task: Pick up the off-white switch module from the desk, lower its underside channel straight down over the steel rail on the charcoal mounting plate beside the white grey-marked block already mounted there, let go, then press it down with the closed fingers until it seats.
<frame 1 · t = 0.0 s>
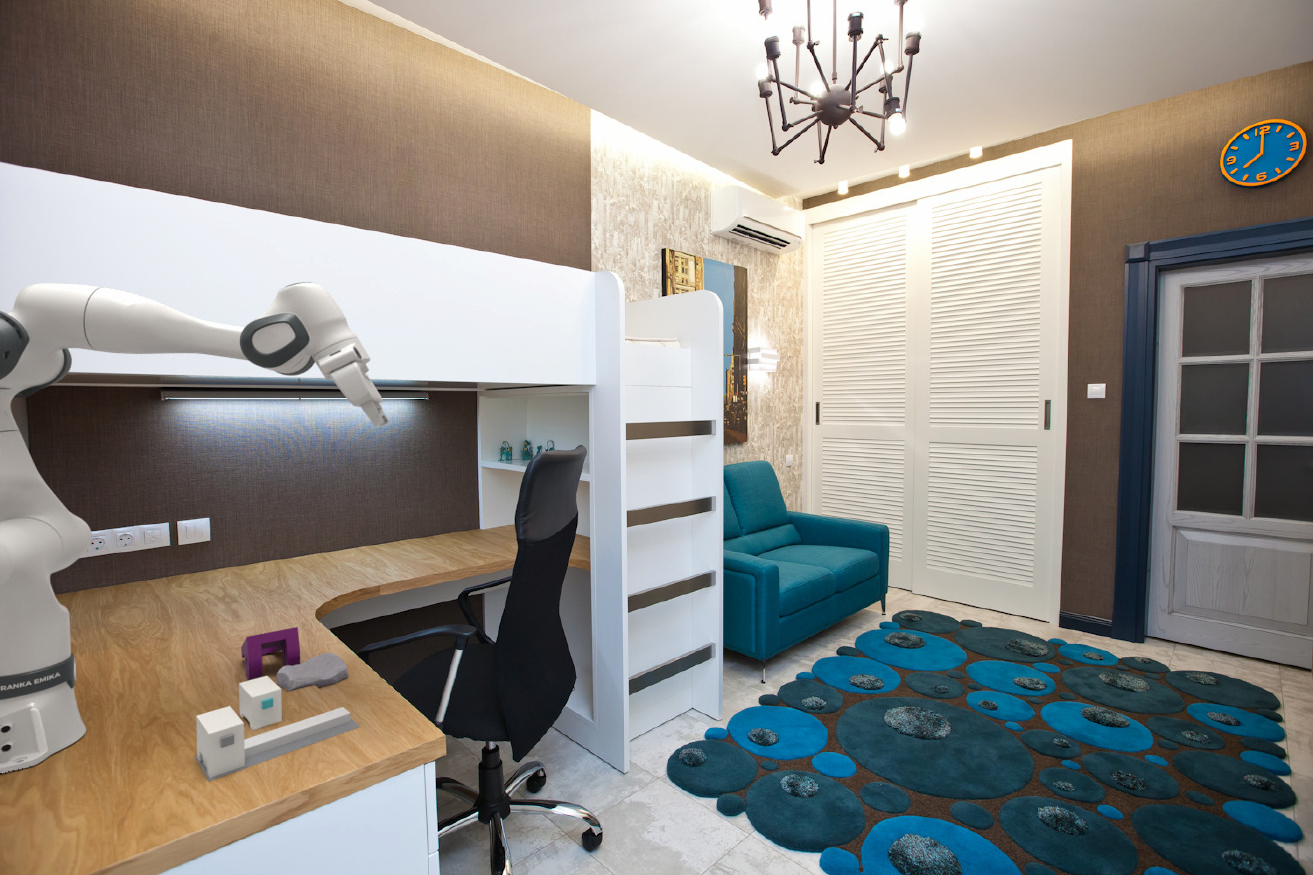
hand: (382, 424, 119), 54 cm above the table, tool tilted 30°, fingers open, 8 cm apart
rail plate: (281, 746, 103), on the table
stone block: (314, 683, 128), on the table
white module: (260, 722, 111), on the table
white grey-marked block: (220, 761, 96), resting on rail plate
mounting bracket: (269, 666, 137), on the table
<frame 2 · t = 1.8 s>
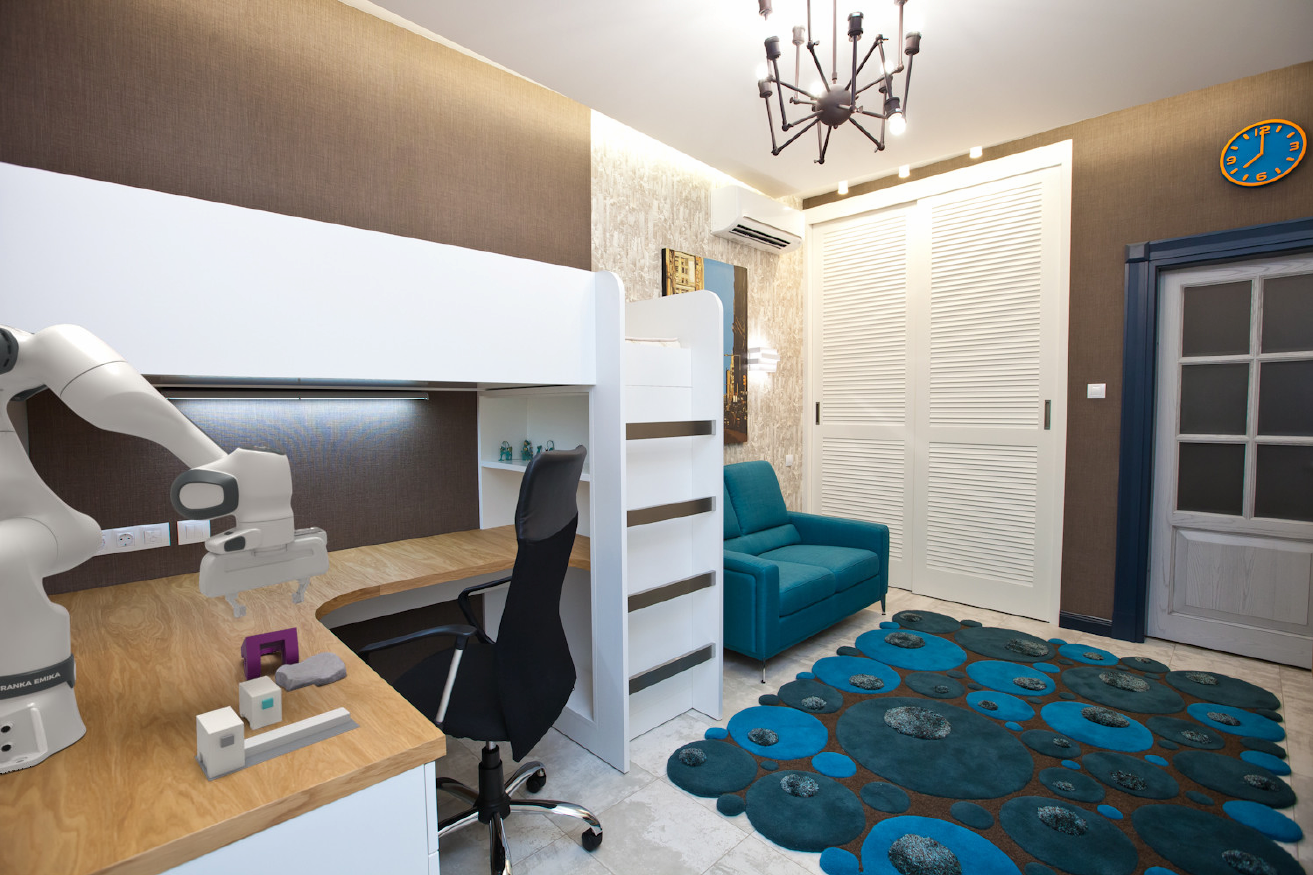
hand: (270, 609, 111), 21 cm above the table, tool pointing down, fingers open, 8 cm apart
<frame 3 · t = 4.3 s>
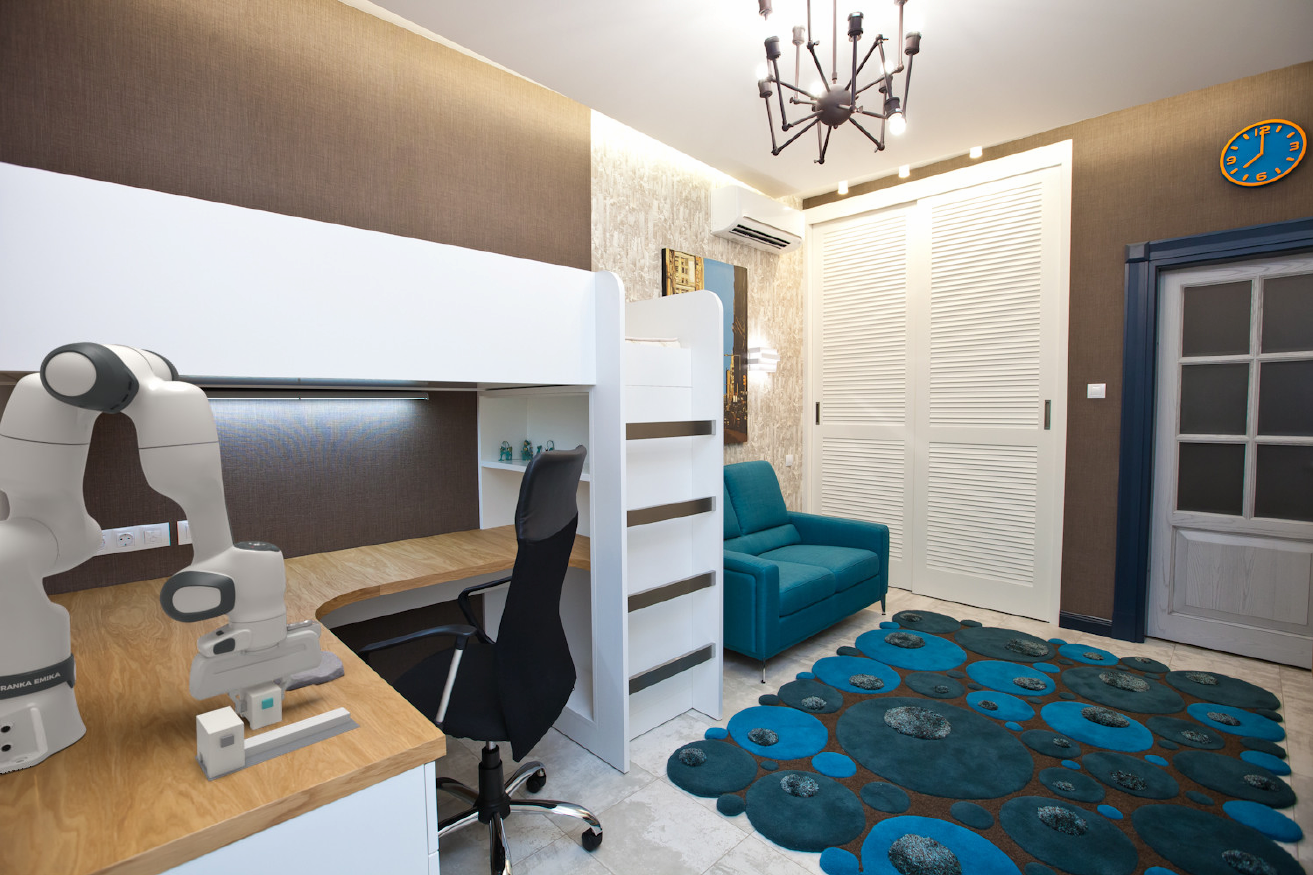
hand: (260, 705, 111), 3 cm above the table, tool pointing down, fingers closed on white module, 4 cm apart
stone block: (311, 680, 130), on the table
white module: (260, 722, 111), on the table, touching gripper
everything else where it was.
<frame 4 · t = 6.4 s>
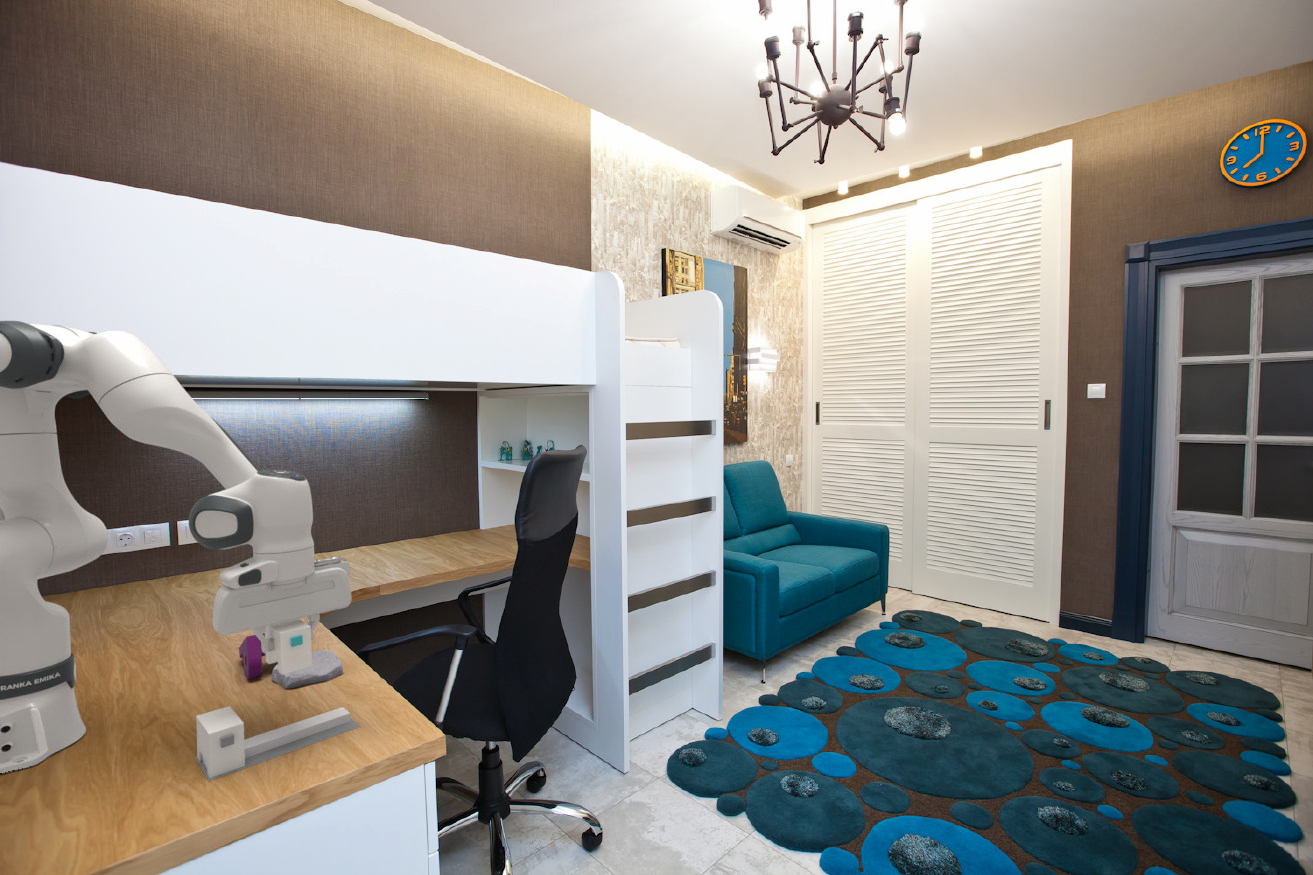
hand: (287, 645, 103), 17 cm above the table, tool pointing down, fingers closed on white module, 4 cm apart
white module: (288, 663, 103), point 14 cm above the table, touching gripper
when the fingers open (5 cm above the table, at t = 8.4 s): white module drops 1 cm, resting on rail plate.
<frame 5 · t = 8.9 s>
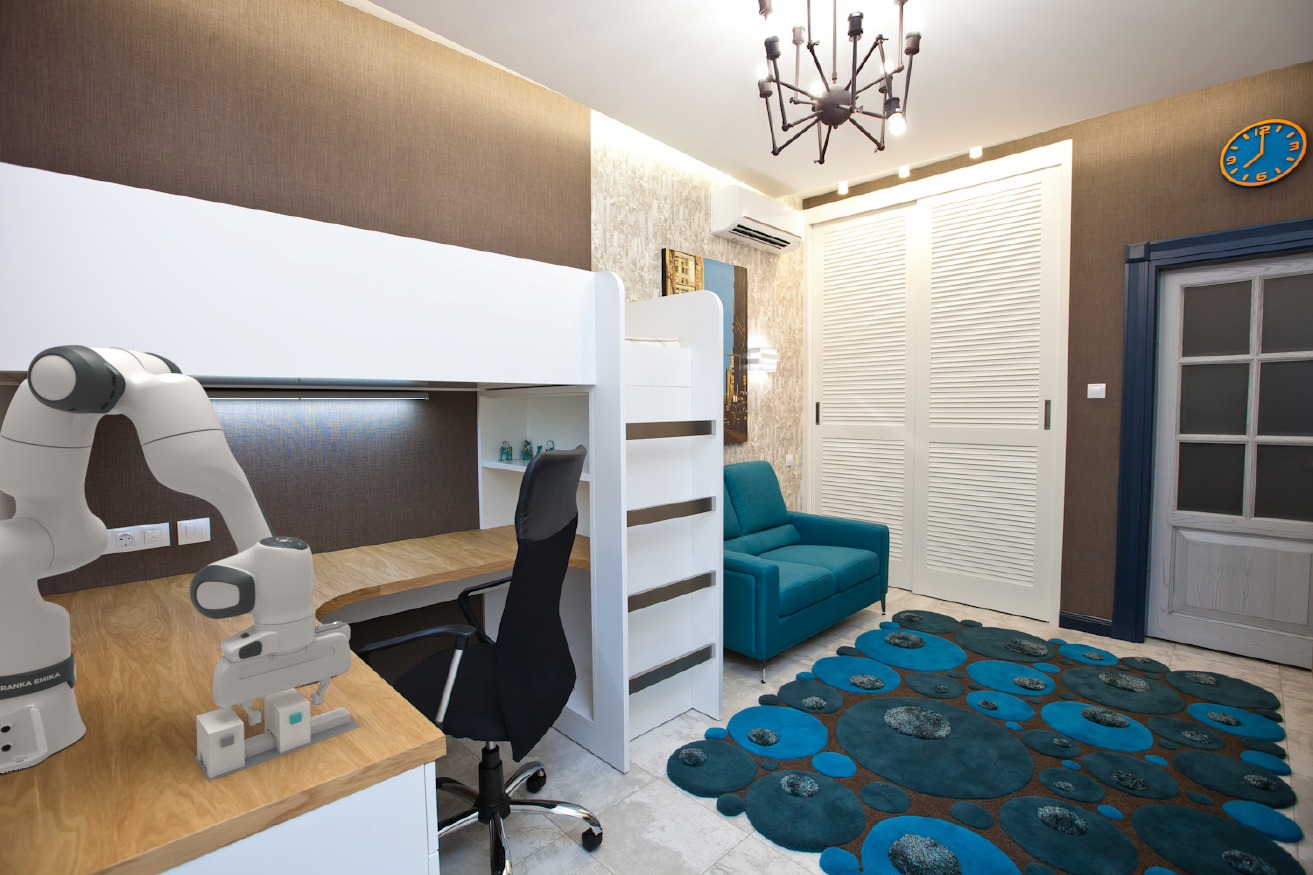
hand: (287, 713, 103), 5 cm above the table, tool pointing down, fingers open, 8 cm apart
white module: (287, 738, 103), point 1 cm above the table, touching rail plate
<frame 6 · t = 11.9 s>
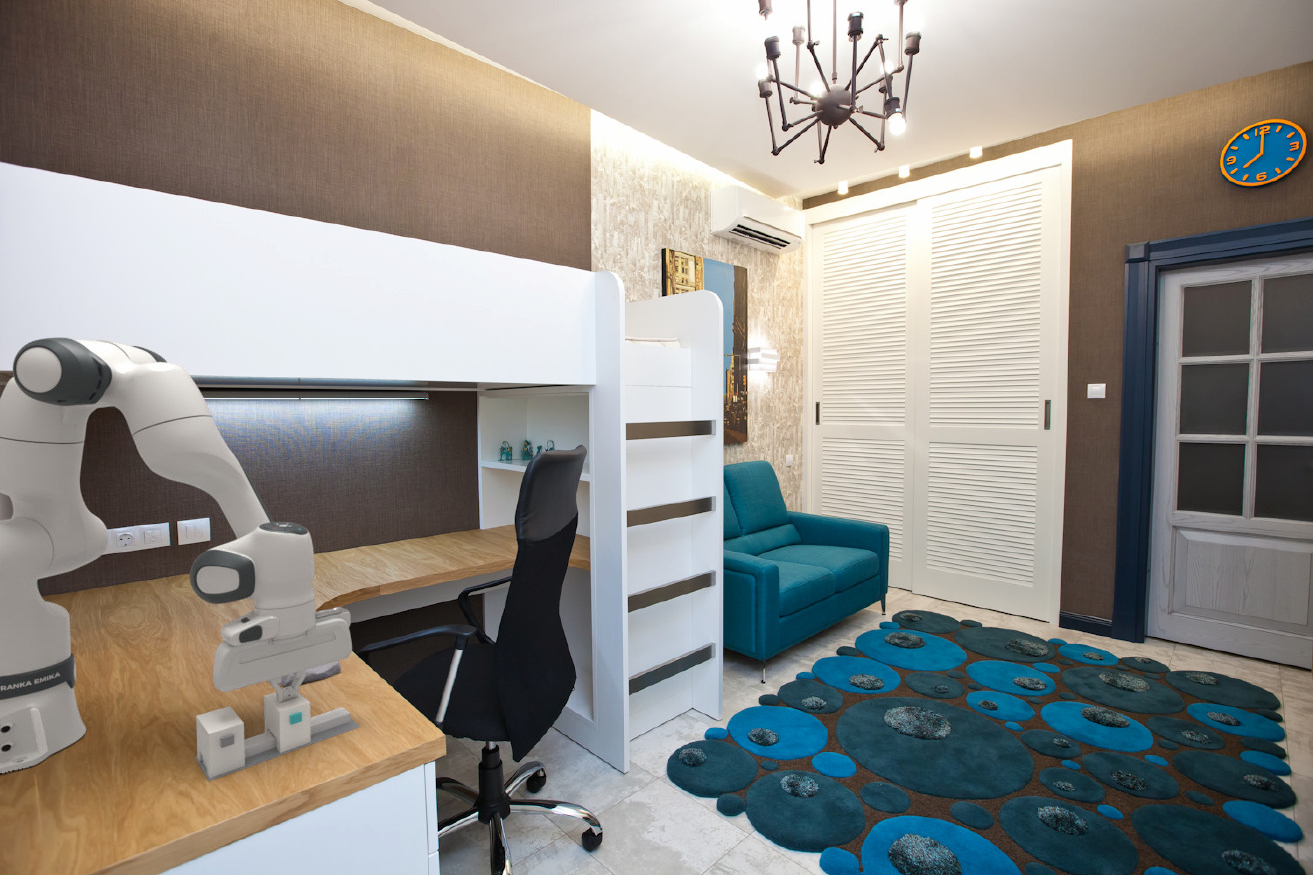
hand: (287, 698, 103), 8 cm above the table, tool pointing down, fingers closed, pressing on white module
stone block: (308, 677, 131), on the table, touching mounting bracket
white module: (287, 738, 103), point 1 cm above the table, touching gripper, rail plate
mounting bracket: (266, 665, 138), on the table, touching stone block
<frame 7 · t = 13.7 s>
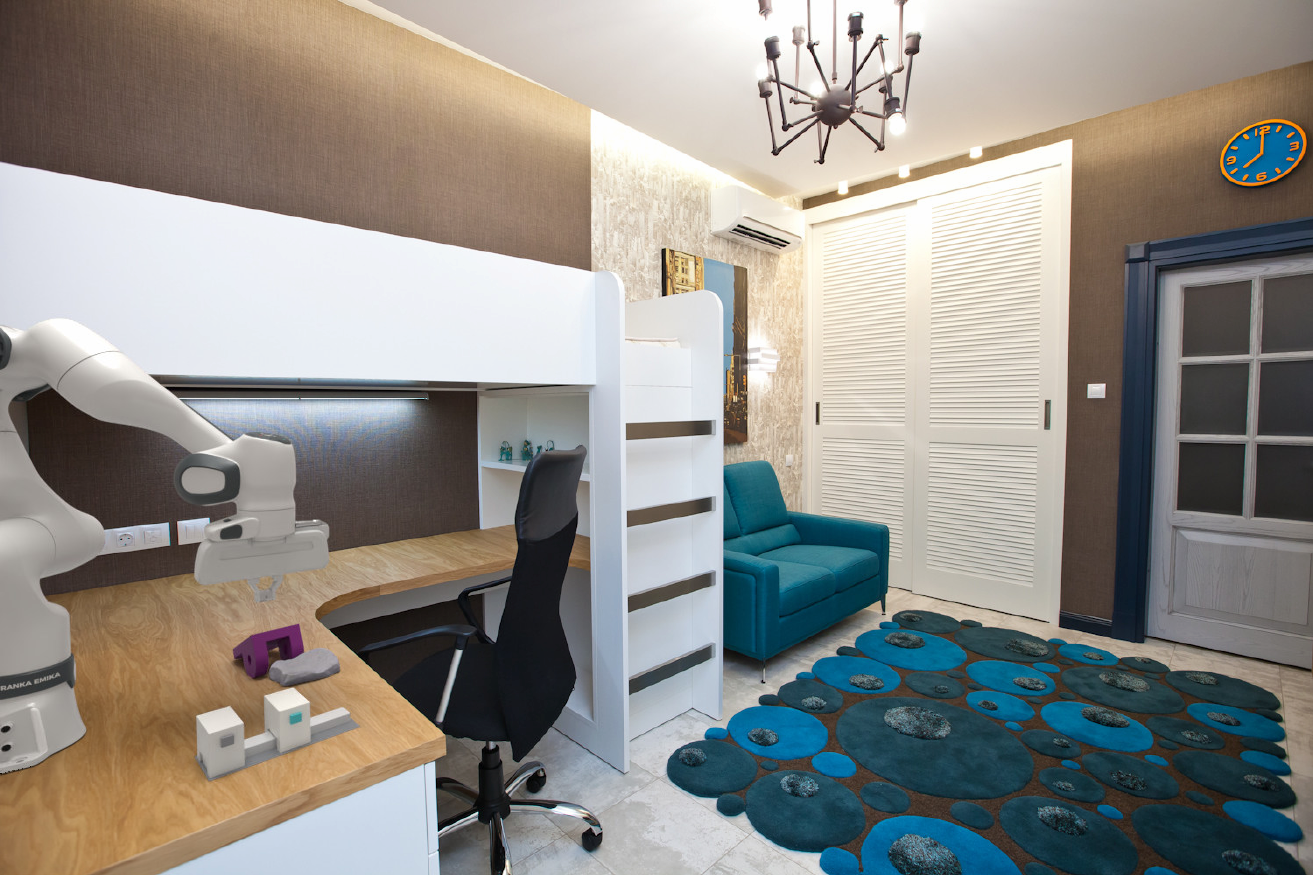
hand: (265, 600, 109), 23 cm above the table, tool pointing down, fingers closed
stone block: (307, 677, 132), on the table
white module: (287, 738, 103), point 1 cm above the table, touching rail plate
mounting bracket: (265, 665, 138), on the table
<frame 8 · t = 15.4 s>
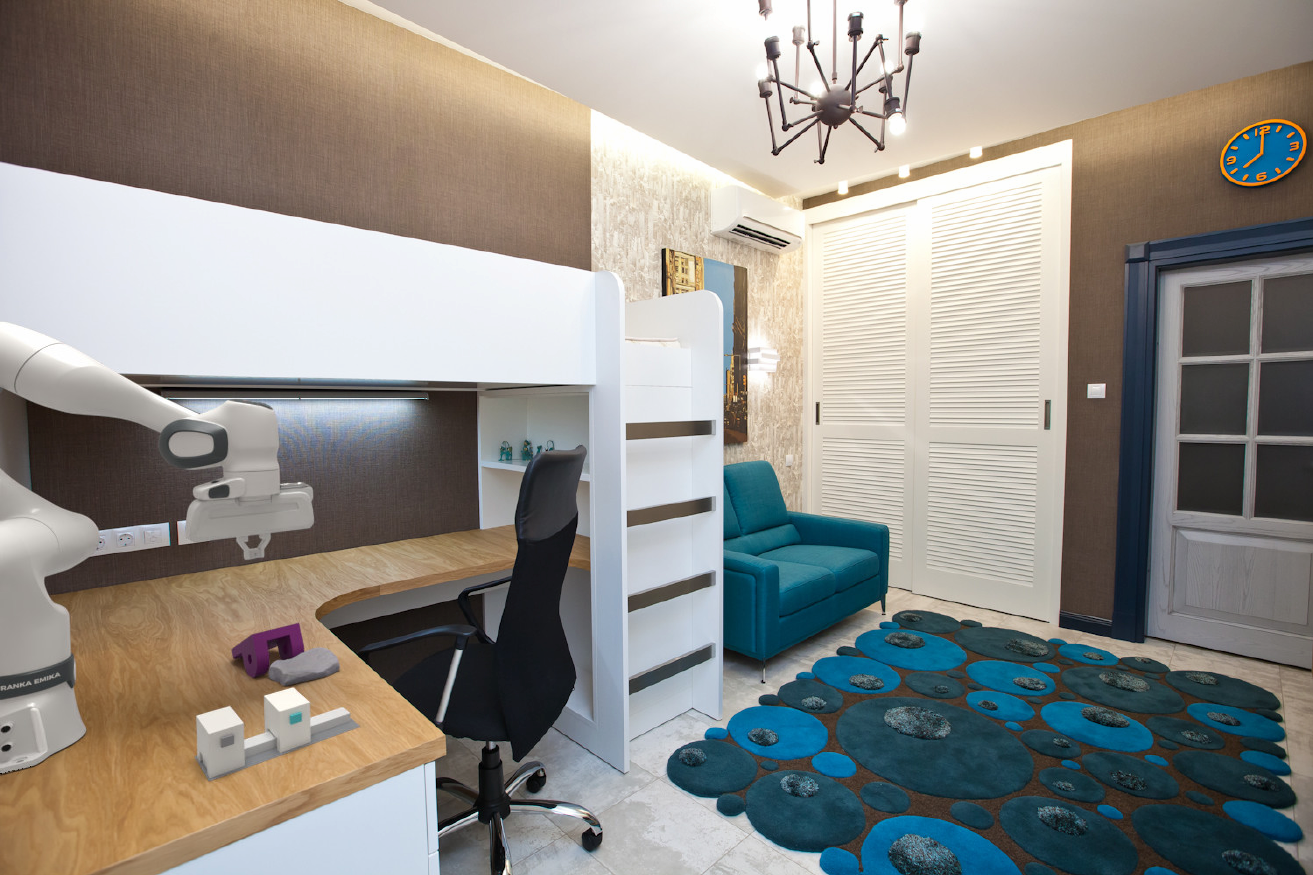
hand: (254, 558, 115), 29 cm above the table, tool pointing down, fingers closed
at the end: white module 0.4 cm from the target spot on the rail plate, point 1.0 cm above the rail plate's base; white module tilted 0°; the gripper is holding nothing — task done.
